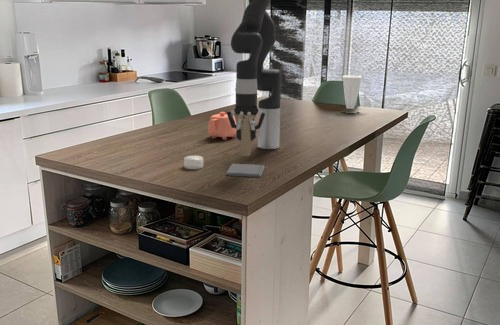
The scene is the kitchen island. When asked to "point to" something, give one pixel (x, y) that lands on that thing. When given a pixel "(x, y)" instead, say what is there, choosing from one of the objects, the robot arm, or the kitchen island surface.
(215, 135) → the teapot
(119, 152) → the kitchen island surface
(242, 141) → the handle
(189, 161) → the white dome knob
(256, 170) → the coaster
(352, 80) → the cup
